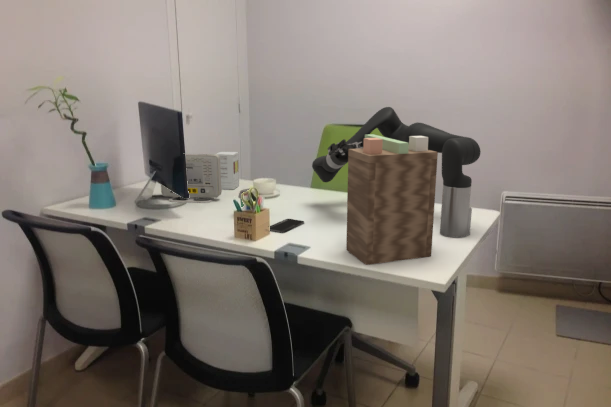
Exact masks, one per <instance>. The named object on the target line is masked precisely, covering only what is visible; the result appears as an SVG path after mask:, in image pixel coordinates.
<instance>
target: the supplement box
mask: <svg viewBox="0 0 611 407" xmlns="http://www.w3.org/2000/svg"><path fill="white" fill-rule="evenodd" d="M216 154H217V155H219V156H220V165H221V190H229V189H234V190H235V189H237V188H238V187H240V170H239V169H240V167H239V166H240V162H239V152H238V151H219V152H217V153H216ZM236 187H237V188H236Z"/></svg>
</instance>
